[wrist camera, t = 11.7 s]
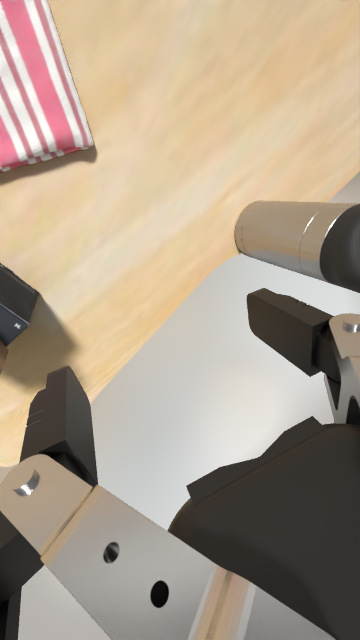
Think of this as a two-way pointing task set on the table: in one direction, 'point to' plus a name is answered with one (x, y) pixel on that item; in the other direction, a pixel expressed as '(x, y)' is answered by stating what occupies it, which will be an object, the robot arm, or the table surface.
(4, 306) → the small box
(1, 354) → the walnut block
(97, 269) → the table surface
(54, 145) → the dish towel
